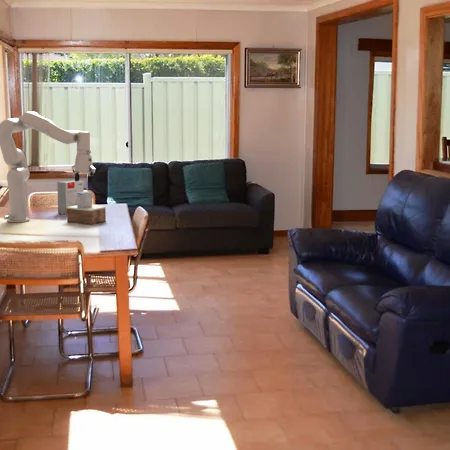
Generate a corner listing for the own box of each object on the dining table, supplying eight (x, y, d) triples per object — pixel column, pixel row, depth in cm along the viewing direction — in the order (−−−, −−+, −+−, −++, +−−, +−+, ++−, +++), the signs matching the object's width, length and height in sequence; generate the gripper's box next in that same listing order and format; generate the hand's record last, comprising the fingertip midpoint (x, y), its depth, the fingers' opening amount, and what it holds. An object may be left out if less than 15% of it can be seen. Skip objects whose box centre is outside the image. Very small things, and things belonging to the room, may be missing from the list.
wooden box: (91, 225, 413) (90, 211, 412) (67, 221, 422) (66, 208, 421) (105, 221, 424) (105, 208, 423) (82, 218, 433) (81, 205, 432)
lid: (90, 211, 411) (90, 209, 411) (66, 208, 420) (66, 207, 420) (105, 208, 423) (105, 206, 422) (81, 205, 432) (81, 204, 432)
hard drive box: (65, 214, 448) (64, 182, 444) (57, 213, 452) (56, 181, 449) (84, 211, 460) (83, 180, 456) (76, 210, 465) (75, 179, 461)
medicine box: (87, 206, 425) (86, 191, 423) (92, 206, 422) (92, 192, 421) (77, 207, 419) (76, 192, 417) (82, 208, 416) (82, 193, 415)
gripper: (99, 153, 414) (99, 182, 417) (76, 151, 422) (76, 180, 425) (90, 154, 407) (90, 183, 410) (67, 152, 416) (67, 181, 419)
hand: (83, 181), depth 418 cm, fingers open, 9 cm apart
